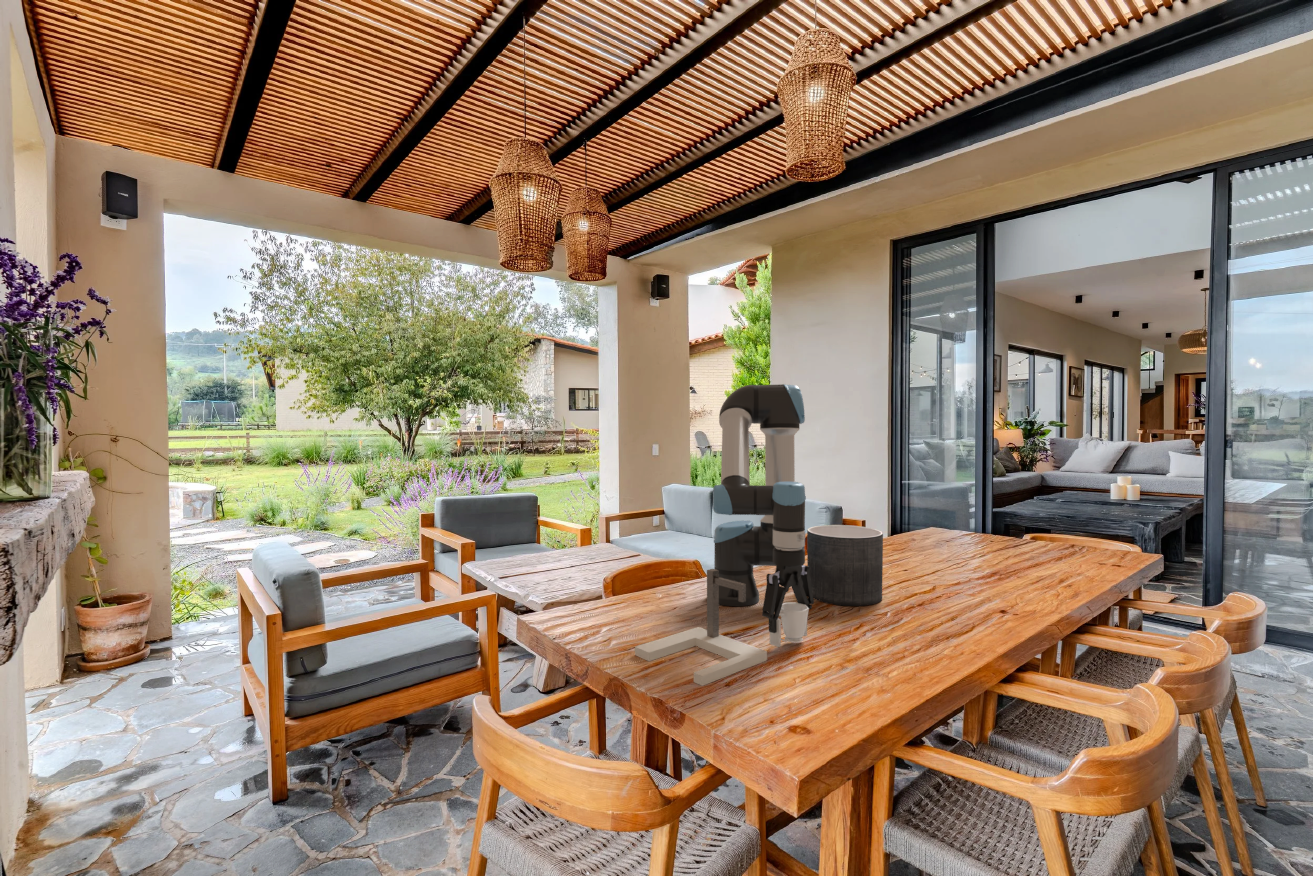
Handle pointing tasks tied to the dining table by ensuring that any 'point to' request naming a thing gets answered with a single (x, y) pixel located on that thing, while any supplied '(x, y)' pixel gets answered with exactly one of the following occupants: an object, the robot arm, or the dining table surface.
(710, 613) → the hook arm
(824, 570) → the planter
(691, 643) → the flat u-shaped bracket
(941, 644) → the dining table surface
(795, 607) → the cup
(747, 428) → the robot arm
